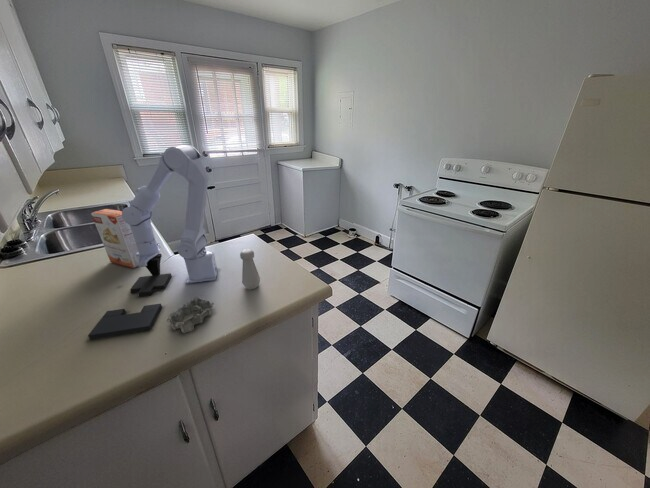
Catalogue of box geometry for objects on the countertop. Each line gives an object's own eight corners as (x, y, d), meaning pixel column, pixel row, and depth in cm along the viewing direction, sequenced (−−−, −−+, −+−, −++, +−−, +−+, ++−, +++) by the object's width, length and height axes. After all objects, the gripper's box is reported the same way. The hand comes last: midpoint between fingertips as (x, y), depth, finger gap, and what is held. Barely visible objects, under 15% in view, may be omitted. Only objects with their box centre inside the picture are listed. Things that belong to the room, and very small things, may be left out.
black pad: (171, 276, 96) (170, 273, 96) (162, 293, 87) (161, 289, 86) (140, 280, 94) (139, 276, 94) (127, 298, 85) (126, 294, 84)
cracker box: (109, 263, 107) (89, 212, 98) (124, 256, 112) (107, 207, 103) (132, 269, 102) (114, 216, 93) (147, 262, 107) (131, 211, 98)
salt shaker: (264, 283, 91) (259, 249, 86) (253, 292, 86) (248, 256, 81) (250, 280, 93) (245, 246, 88) (239, 288, 89) (233, 253, 83)
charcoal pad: (162, 307, 80) (160, 303, 80) (150, 330, 71) (149, 325, 71) (108, 315, 77) (107, 310, 77) (89, 339, 68) (87, 335, 68)
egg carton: (186, 335, 69) (182, 323, 68) (166, 327, 72) (162, 315, 70) (217, 311, 78) (214, 299, 76) (198, 305, 81) (195, 293, 79)
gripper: (140, 233, 96) (151, 266, 101) (122, 250, 83) (135, 287, 88) (162, 231, 97) (171, 264, 103) (147, 248, 84) (159, 284, 90)
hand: (156, 275), depth 95 cm, fingers closed
